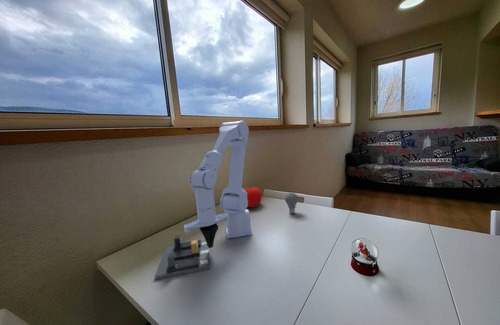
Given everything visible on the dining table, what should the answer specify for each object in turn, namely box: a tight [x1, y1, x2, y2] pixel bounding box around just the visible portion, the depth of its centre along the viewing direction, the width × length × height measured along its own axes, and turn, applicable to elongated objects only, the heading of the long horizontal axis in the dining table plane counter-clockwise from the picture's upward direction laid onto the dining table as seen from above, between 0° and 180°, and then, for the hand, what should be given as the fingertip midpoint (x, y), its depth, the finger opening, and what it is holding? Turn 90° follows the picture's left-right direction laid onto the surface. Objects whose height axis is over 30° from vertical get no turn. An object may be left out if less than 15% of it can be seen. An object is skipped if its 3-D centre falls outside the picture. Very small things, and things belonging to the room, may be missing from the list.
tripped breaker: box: [191, 239, 198, 254], centre depth 64 cm, size 2×2×3 cm
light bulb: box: [284, 192, 299, 214], centre depth 94 cm, size 6×6×10 cm
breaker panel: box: [154, 234, 211, 280], centre depth 64 cm, size 15×15×5 cm
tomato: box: [243, 186, 263, 208], centre depth 107 cm, size 11×12×10 cm
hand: (210, 246), depth 65 cm, fingers closed
